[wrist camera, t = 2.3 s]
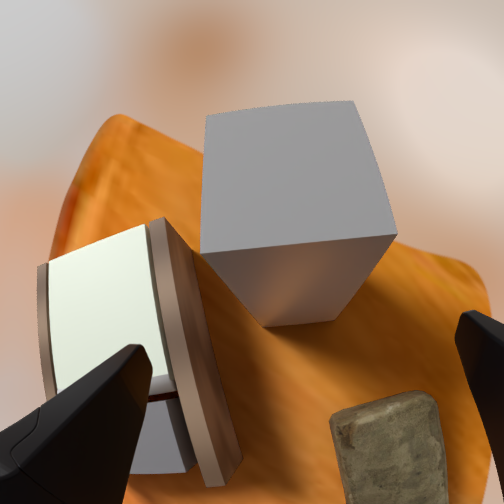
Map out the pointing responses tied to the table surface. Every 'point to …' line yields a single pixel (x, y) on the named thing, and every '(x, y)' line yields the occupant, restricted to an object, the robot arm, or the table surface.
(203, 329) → the frame
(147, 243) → the trapdoor flap
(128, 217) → the table surface
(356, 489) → the stone block
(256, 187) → the granite pillar
